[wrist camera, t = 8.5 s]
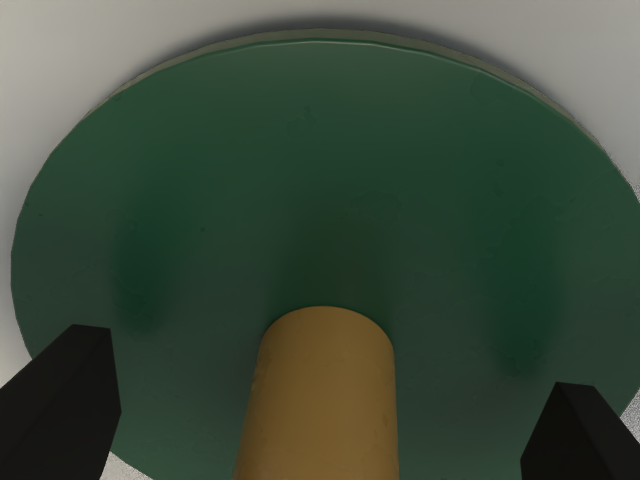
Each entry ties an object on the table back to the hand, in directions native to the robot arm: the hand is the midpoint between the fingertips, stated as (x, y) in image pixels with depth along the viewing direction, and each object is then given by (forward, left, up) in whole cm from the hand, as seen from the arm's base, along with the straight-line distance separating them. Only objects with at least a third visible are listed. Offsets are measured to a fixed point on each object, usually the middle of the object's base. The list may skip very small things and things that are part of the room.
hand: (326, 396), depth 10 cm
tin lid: (0, 0, -1) cm, 1 cm away
